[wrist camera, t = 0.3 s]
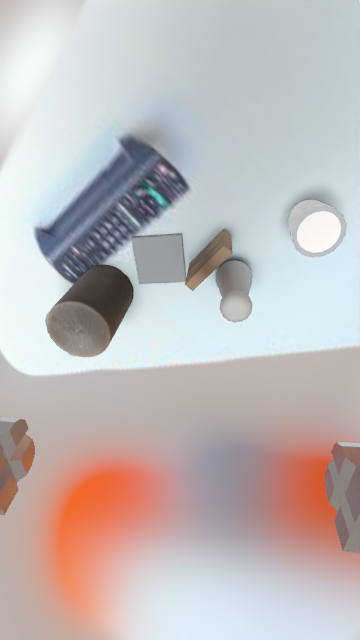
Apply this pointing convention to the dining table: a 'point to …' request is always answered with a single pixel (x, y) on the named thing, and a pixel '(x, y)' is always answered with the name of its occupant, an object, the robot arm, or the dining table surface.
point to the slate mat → (159, 258)
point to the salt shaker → (234, 290)
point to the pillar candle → (90, 311)
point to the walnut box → (209, 259)
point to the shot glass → (316, 228)
